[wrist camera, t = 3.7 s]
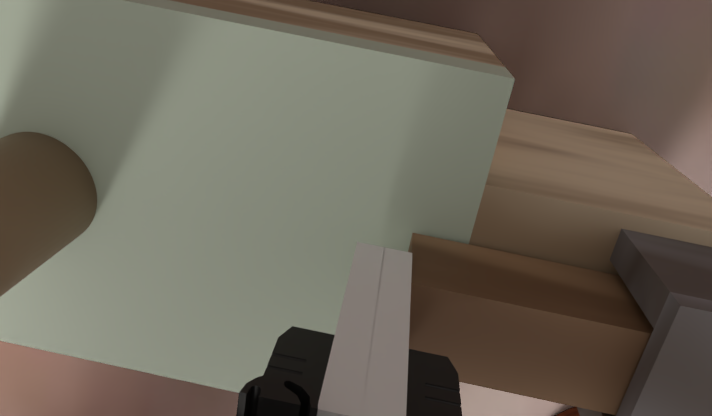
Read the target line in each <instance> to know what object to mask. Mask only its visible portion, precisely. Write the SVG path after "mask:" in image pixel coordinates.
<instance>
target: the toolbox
mask: <svg viewBox="0 0 712 416" xmlns="http://www.w3.org/2000/svg"><path fill="white" fill-rule="evenodd" d="M171 1H176V2H181V3H186V4H191V5H196V6H201V7H206V8H211V9H216V10H221V11H226V12H231V13H236V14H241V15H246V16H251V17H256V18H261V19H266V20H271V21H276V22H281V23H286V24H291V25H296V26H301V27H306V28H311V29H316V30H321V31H326V32H331V33H336V34H341V35H346V36H351V37H356V38H361V39H366V40H371V41H376V42H381V43H386V44H391V45H396V46H401V47H406V48H411V49H416V50H421V51H426V52H431V53H436V54H441V55H446V56H451V57H456V58H461V59H466V60H471V61H476V62H481V63H486V64H491V65H496V66H501V67H505V66H504V65H503V64H502V63H501V61H500V60H499V59H498V58H497V57H496V55H495V54H494V53H493V52H492V51H491V50H490V48H489V47H488V46H487V45H486V44H485V42H484V41H483V40H482V39H481V38H480V36H479V35H478V34H476V33H471V32H466V31H461V30H456V29H451V28H446V27H441V26H436V25H431V24H425V23H420V22H415V21H410V20H405V19H400V18H395V17H390V16H385V15H380V14H375V13H370V12H365V11H360V10H355V9H350V8H345V7H340V6H335V5H330V4H325V3H320V2H315V1H310V0H171ZM469 244H470V245H474V246H479V247H484V248H489V249H493V250H498V251H503V252H508V253H513V254H517V255H522V256H527V257H532V258H537V259H541V260H546V261H551V262H556V263H561V264H565V265H570V266H575V267H580V268H584V269H589V270H594V271H599V272H604V273H608V274H613V275H618V276H620V277H621V278H622V280H623V282H624V283H625V285H626V286H627V288H628V289H629V291H630V292H631V294H632V296H633V297H634V299H635V300H636V302H637V303H638V305H639V306H640V308H641V310H642V311H643V313H644V314H645V316H646V317H647V319H648V320H649V322H650V324H651V325H652V327H653V328H654V330H653V332H652V334H651V336H650V339H649V341H648V343H647V345H646V348H645V350H644V352H643V355H642V357H641V359H640V361H639V364H638V366H637V368H636V371H635V373H634V375H633V377H632V380H631V382H630V384H629V387H628V389H627V391H626V393H625V396H624V398H623V400H622V402H621V405H620V407H619V409H618V412H617V414H616V415H612V414H607V413H602V412H598V411H593V410H589V409H584V408H579V407H577V409H578V412H579V415H580V416H712V197H711V196H710V195H709V194H707V193H706V192H705V191H703V190H702V189H701V188H700V187H698V186H697V185H696V184H695V183H693V182H692V181H691V180H689V179H688V178H687V177H686V176H684V175H683V174H682V173H681V172H679V171H678V170H677V169H676V168H674V167H673V166H672V165H670V164H669V163H668V162H667V161H665V160H664V159H663V158H662V157H660V156H659V155H658V154H656V153H655V152H654V151H653V150H651V149H650V148H649V147H648V146H646V145H645V144H644V143H643V142H641V141H640V140H639V139H637V138H636V137H635V136H634V135H632V134H629V133H624V132H619V131H614V130H609V129H604V128H599V127H594V126H589V125H585V124H580V123H575V122H570V121H565V120H560V119H555V118H550V117H545V116H540V115H535V114H530V113H525V112H520V111H515V110H510V109H506V113H505V116H504V120H503V124H502V127H501V131H500V134H499V138H498V141H497V145H496V149H495V152H494V156H493V159H492V163H491V166H490V170H489V173H488V177H487V181H486V184H485V188H484V191H483V195H482V198H481V202H480V206H479V209H478V213H477V216H476V220H475V223H474V227H473V230H472V234H471V238H470V241H469Z"/></svg>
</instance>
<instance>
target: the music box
mask: <svg viewBox="0 0 712 416" xmlns="http://www.w3.org/2000/svg"><path fill="white" fill-rule="evenodd" d="M555 416H580V415H579V412H578V409H577V407H573V408H570V409H568V410H565V411H563V412H561V413H559V414H557V415H555Z"/></svg>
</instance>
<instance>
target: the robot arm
mask: <svg viewBox="0 0 712 416" xmlns="http://www.w3.org/2000/svg"><path fill="white" fill-rule="evenodd" d="M411 276H412V253H410V252H405V251H400V250H395V249H390V248H385V247H380V246H375V245H370V244H365V243H361V242H357V245H356V249H355V253H354V257H353V261H352V266H351V270H350V274H349V278H348V282H347V286H346V290H345V294H344V299H343V303H342V307H341V311H340V315H339V319H338V323H337V327H336V332H335V335H333V334H328V333H323V332H318V331H313V330H309V329H304V328H299V327H294V326H292V327H291V328H289V329H288V330H287V331H286V332H284V333H283V334H282V335H281V336H279V337H278V339H277V342H276V344H275V347H274V349H273V352H272V355H271V357H270V360H269V362H268V365H267V368H266V370H265V372H264V375H263V376H259V377H257V378H255V379H253V380H251V381H249V382H247V383H246V384H245V385H244V387H243V388H242V389H241V391H240V392H239V399H238V407H237V415H236V416H462V411H461V407H460V406H461V399H460V393H459V391H460V388H459V376H458V372H457V371H456V369H455V367H454V366H453V364H452V363H451V361H450V360H449V358H448V357H446V356H441V355H436V354H432V353H427V352H422V351H417V350H412V349H409V328H410V302H411Z"/></svg>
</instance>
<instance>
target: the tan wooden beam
mask: <svg viewBox="0 0 712 416" xmlns="http://www.w3.org/2000/svg"><path fill="white" fill-rule="evenodd" d="M408 252H410V253H412V276H411V302H410V328H409V349H412V350H417V351H422V352H427V353H432V354H436V355H441V356H446V357H448V358H449V360H450V361H451V363H452V364H453V366H454V367H455V369H456V371H457V372H458V376H459V382H463V383H468V384H473V385H477V386H482V387H487V388H491V389H496V390H500V391H505V392H510V393H514V394H519V395H524V396H528V397H533V398H538V399H542V400H547V401H551V402H556V403H561V404H565V405H570V406H575V407H579V408H584V409H589V410H593V411H598V412H602V413H607V414H612V415H616V414H617V412H618V409H619V407H620V405H621V402H622V400H623V398H624V396H625V393H626V391H627V389H628V387H629V384H630V382H631V380H632V377H633V375H634V373H635V371H636V368H637V366H638V364H639V361H640V359H641V357H642V355H643V352H644V350H645V348H646V345H647V343H648V341H649V339H650V336H651V334H652V332H653V330H654V328H653V327H652V325H651V324H650V322H649V320H648V319H647V317H646V316H645V314H644V313H643V311H642V310H641V308H640V306H639V305H638V303H637V302H636V300H635V299H634V297H633V296H632V294H631V292H630V291H629V289H628V288H627V286H626V285H625V283H624V282H623V280H622V278H621V277H620V276H618V275H613V274H608V273H604V272H599V271H594V270H589V269H584V268H580V267H575V266H570V265H565V264H561V263H556V262H551V261H546V260H541V259H537V258H532V257H527V256H522V255H517V254H513V253H508V252H503V251H498V250H493V249H489V248H484V247H479V246H474V245H470V244H465V243H460V242H455V241H450V240H446V239H441V238H436V237H431V236H426V235H422V234H417V233H412V237H411V241H410V245H409V249H408Z"/></svg>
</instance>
